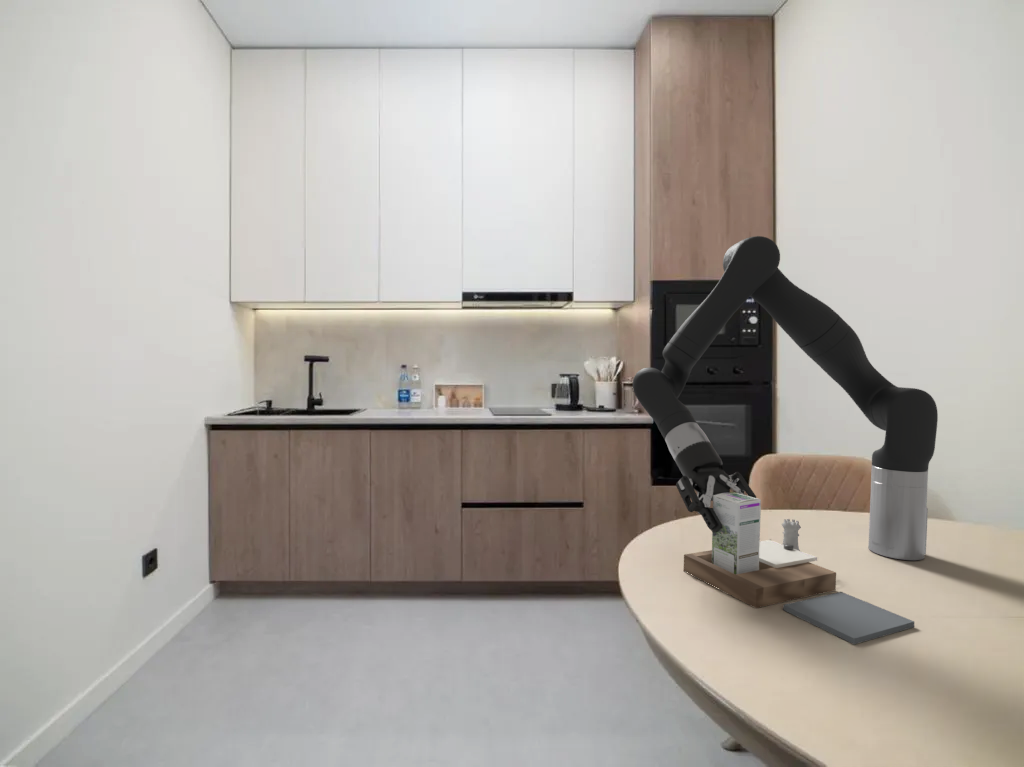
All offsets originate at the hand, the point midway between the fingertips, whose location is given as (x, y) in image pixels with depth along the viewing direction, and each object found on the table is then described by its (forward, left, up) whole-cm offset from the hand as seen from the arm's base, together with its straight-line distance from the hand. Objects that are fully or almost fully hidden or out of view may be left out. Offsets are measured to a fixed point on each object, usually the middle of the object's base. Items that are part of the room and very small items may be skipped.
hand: (737, 527), depth 94 cm
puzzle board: (-3, +2, -9) cm, 10 cm away
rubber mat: (-4, +17, -9) cm, 20 cm away
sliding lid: (-9, 0, -6) cm, 11 cm away
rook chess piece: (-16, -2, -9) cm, 19 cm away
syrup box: (0, 0, -9) cm, 9 cm away
